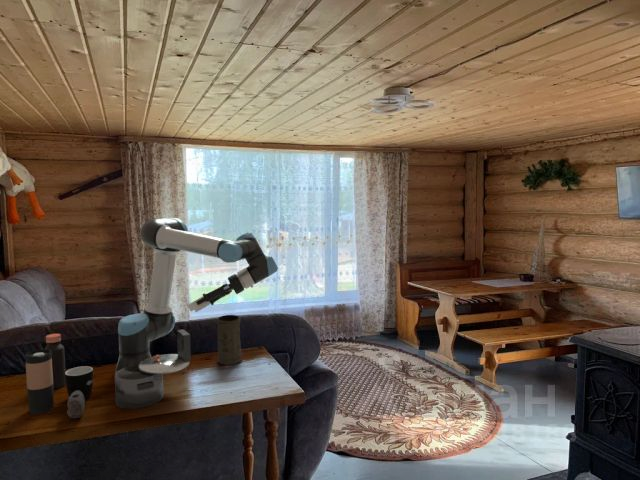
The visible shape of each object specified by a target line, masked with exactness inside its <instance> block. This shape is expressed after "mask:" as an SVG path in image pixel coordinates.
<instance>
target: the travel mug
mask: <svg viewBox="0 0 640 480" xmlns="http://www.w3.org/2000/svg"><path fill="white" fill-rule="evenodd" d="M25 377H26V391H27V401H28V402H27V403H28V410H29V413H30V414H31V415H42V414H45V413H49V412H51V411H52V410H53V409H54V407H55V405H54V403H55V402H54V401H55V398H54V389H53V371H52V357H51V350H48V349H45V348H44V349H36V350H32V351H31V350H30V351H29V352H27V353H26V354H25ZM52 408H53V409H52ZM51 409H52V410H51Z"/></svg>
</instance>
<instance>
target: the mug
mask: <svg viewBox="0 0 640 480" xmlns="http://www.w3.org/2000/svg"><path fill="white" fill-rule="evenodd" d="M65 381H66V385H65V386H66V387H65V388H66V391H67V396H68V398H69V397H70V395H71V394H72V393H73V392H74V391H77V390H79V391H81V392H82V393H83V395H84V399H86V400H88V399H89V398H90V397H91V395H92V392H93V385H94V369H93V367H92V366H87V365H85V366H84V365H83V366H82V365H81V366H77V367H73V368H69V369H67V370H65ZM87 398H88V399H87Z"/></svg>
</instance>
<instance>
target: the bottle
mask: <svg viewBox="0 0 640 480" xmlns="http://www.w3.org/2000/svg"><path fill="white" fill-rule="evenodd" d="M45 342H46V346H45V348H44V349H48V350H51V357H52V371H53V390H56V389H55V388H57V389H60V388H59V387H61V388H63V387H64V386H66V381H65V372H66V357H65V346H64V345H63V344H61V342H62V335H61V334H60V333H51V334H47V335H46V336H45ZM62 386H63V387H62Z"/></svg>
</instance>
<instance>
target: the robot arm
mask: <svg viewBox="0 0 640 480" xmlns="http://www.w3.org/2000/svg"><path fill="white" fill-rule="evenodd" d="M139 236H140V239H141V241H142V242H143V243H144V244H145V245H146V246H148V247H151V248H152V249H153V250H154V253H155V254H154V260H153V261H154V262H153V268H152V274H151V275H152V276H151V283H150V290H149V297H148V304H146V305H145V306H144V307H143V312H141V313H134V314H129V315H126V316H123V317H122V318H121V319H120V320H119V322H118V327H117V335H118V350H119V356H118V359H117V360H118V361H117V363H116V366H115V367H116V368H115V373H116V372H117V371H119V370H121V369H123V368H125V367H128V366H132V365H138V364H140V362H142V361H143V360H145V359H147V358H150V357H152V354H151V352H150V351H151V350H150V342H153V341H155V340H157V339H159V338H163V337H165V336H166V335H168V334H169V333H170V332H172V331H173V329H174V327H175V324H176V317H175V315H174V313H173V311H172V310H173V309H172V307H171V306H170V300H171V295H172V293H171V292H172V288H173V287H172V286H173V280H174V272H175V266H176V259H177V254H179V252H188V253H192V254H198V255H202V256H207V257H212V258H216V259H220V260H221V261H222V262H223V263H236V262H238V261H241V260H245V261H246V262H247V263H246V264H248V266H246V267H244V268H243V269H241V270H239V271H237V273H234V274H232V275H231V276H228V278H227V280H228V282H229V283H225V284H224V283H223V285H221V286H219V287H217V288H215V289H214V290H211V291H209V292H208V293H203V294H202V296H200V297H199V298H198V299H195V300H194V301H192V302H190V303H188V304H187V307H188V309H189V311H190V312H193V311H194V312H195V313H197V312H199V311H201V310H203V309H205V308H206V307H208V306H210V305H211V306H213V305H214V304H215V303H216V302H218V301H219V300H221V299H222V298H224V297H226V296H229V295H230V294H231V293H232V292H233V291H234V293H235V294H236V295H238V294H240V293H242V292H244V291H245V289H249V288H253V287H254V285H255V284H258V283H259V282H260V283H261V282H262V281H263V280H265V279H266V278H267V279H268V278H269V277H270V276H272V275H273V274H275V273H276V272H278V269H279V268H278V266H277V263H276V261H275V259H274V258H273V257H272V255H271V254H268V255H266V254H265V253H264V250H263V249H262V247H261V246H260V244H259V242H258V240H257V238H256V237H255V235H254V234H253V233H252V232H250V231H249V232H245V233H243V234H241V235H240V236H238V237H237V238H236V239H235V240H230V239H225V238H221V237H215V236H209V235H205V234H199V233H195V232H190V231H189V230H188V226H187V225H186V224H185V222H184V221H183V220H181V219H180V218H179V217H178V218H177V217H163V218H152V219H149V220H147V221H145V222H144V223H143V224H142V225H141V227H140V230H139Z"/></svg>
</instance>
